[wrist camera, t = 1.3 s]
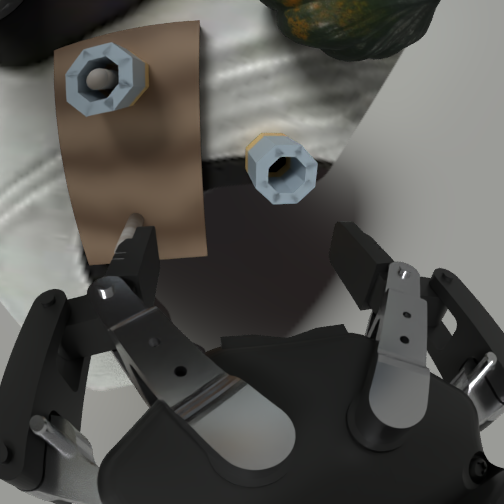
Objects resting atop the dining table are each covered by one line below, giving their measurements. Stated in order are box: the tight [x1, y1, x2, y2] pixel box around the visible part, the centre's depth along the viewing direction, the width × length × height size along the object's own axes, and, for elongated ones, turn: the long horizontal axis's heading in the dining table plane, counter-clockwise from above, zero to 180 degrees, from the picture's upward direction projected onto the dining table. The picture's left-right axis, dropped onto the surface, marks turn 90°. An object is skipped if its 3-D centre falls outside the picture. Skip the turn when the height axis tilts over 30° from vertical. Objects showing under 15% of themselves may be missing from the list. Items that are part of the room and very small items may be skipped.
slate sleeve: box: [245, 133, 318, 204], centre depth 25 cm, size 5×5×6 cm
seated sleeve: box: [65, 42, 149, 117], centre depth 16 cm, size 5×5×6 cm
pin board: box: [54, 20, 207, 265], centre depth 21 cm, size 24×14×9 cm, turn 179°
